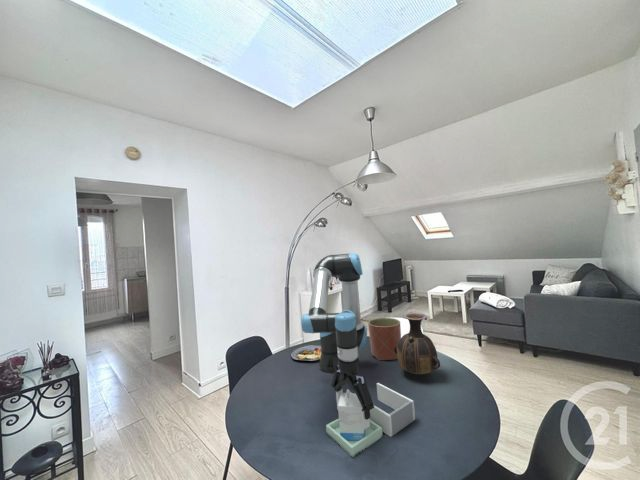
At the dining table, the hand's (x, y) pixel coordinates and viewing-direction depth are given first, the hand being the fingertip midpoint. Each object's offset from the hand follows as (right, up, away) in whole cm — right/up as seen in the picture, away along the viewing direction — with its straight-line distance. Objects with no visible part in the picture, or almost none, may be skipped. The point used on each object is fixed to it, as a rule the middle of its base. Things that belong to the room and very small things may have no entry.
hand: (352, 417), depth 93 cm
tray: (0, -6, 0) cm, 6 cm away
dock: (+14, -6, +9) cm, 17 cm away
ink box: (0, -6, 0) cm, 6 cm away
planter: (+29, -6, +64) cm, 71 cm away
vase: (+38, -5, +38) cm, 54 cm away
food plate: (-17, -10, +73) cm, 75 cm away
